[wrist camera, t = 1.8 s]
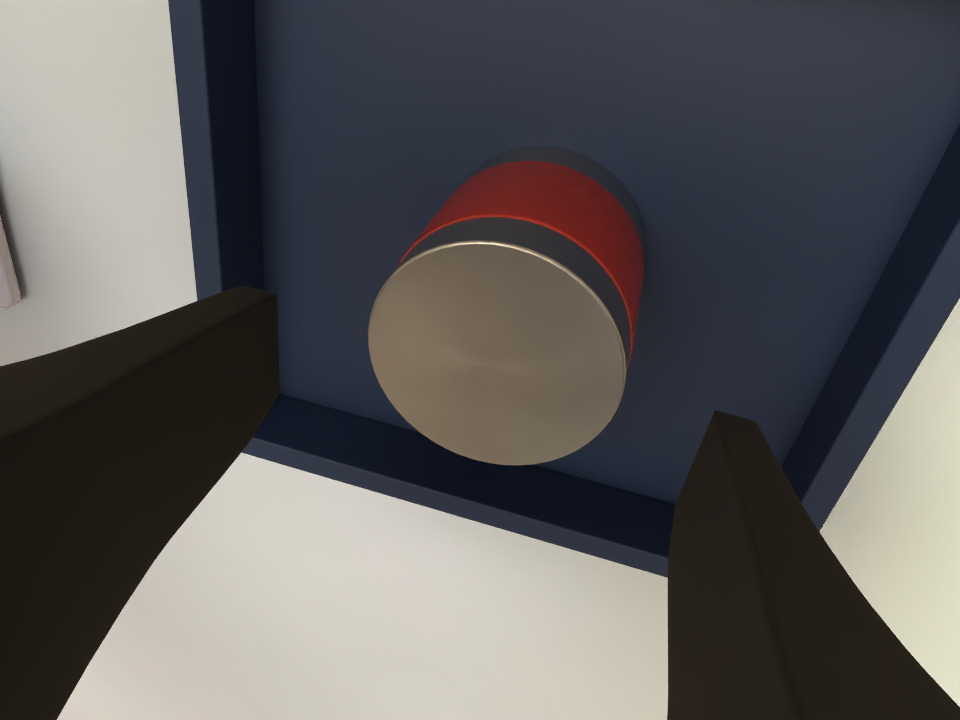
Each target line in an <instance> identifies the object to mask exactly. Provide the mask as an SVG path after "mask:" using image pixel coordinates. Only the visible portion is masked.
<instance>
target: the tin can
mask: <svg viewBox="0 0 960 720" xmlns="http://www.w3.org/2000/svg"><path fill="white" fill-rule="evenodd" d="M644 260H645V234H644V229H643V225H642V221H641V218H640V215H639V213H638V210H637V208H636V206H635V204H634V202H633V200H632V198H631V197H630V195H629V194H628V193H627V191H626V190H625V188H624V187H623V186H622V185H621V184H620V183H619V182H618V181H617V179H616V178H615V177H614V176H613V175H611V174H610V173H609V172H608V171H606V170H605V169H604V168H603V167H601V166H600V165H598V164H596V163H595V162H593V161H591V160H590V159H587V158H585V157H583V156H581V155H578V154H576V153H572V152H569V151H566V150H562V149H555V148H549V147H532V148H522V149H518V150H514V151H510V152H506V153H504V154H501V155H499V156H496V157H494V158H493V159H491V160H489V161H487V162H486V163H484V164H483V165H481V166H480V167H479V168H477V169H476V170H475V171H474V172H473V173H472V174H471V175H470V176H469V177H468V178H467V179H466V180H465V181H464V182H463V184H462V185H461V186H459V188H458V189H457V190H456V191H455V192H454V193H453V194H452V195H451V196H450V197H449V198H448V200H447V201H446V202H445V203H444V205H443V206H442V207H441V208H440V210H439V211H438V212H437V214H436V215H435V216H434V217H433V219H432V220H431V221H430V222H429V224H428V225H427V226H426V227H425V229H424V230H423V231H422V232H421V234H420V235H419V236H418V237H417V239H416V240H415V241H414V242H413V244H412V245H411V246H410V248H409V249H408V250H407V251H406V253H405V254H404V256H403V257H402V259H401V260H400V261H399V263H398V265H397V267H396V269H395V270H394V271H393V273H392V274H391V275H390V277H389V278H388V279H387V281H386V282H385V284H384V285H383V286H382V288H381V289H380V291H379V293H378V295H377V297H376V299H375V302H374V304H373V308H372V311H371V314H370V320H369V327H368V345H369V352H370V358H371V362H372V365H373V369H374V372H375V374H376V377H377V379H378V381H379V384H380V386H381V388H382V389H383V391H384V393H385V394H386V396H387V398H388V399H389V401H390V402H391V403H392V404H393V406H394V407H395V408H396V410H397V411H398V412H399V413H400V414H401V415H402V416H403V417H404V418H405V419H406V421H407V422H409V423H410V424H411V425H412V426H413V427H414V428H415V429H417V430H418V431H419V432H420V433H422V434H423V435H425V436H426V437H427V438H429V439H430V440H432V441H433V442H435V443H437V444H439V445H440V446H442V447H444V448H446V449H448V450H450V451H453V452H455V453H457V454H459V455H462V456H465V457H468V458H471V459H474V460H479V461H483V462H487V463H493V464H501V465H530V464H538V463H543V462H548V461H552V460H555V459H558V458H561V457H564V456H566V455H568V454H570V453H572V452H575V451H577V450H578V449H580V448H581V447H583V446H584V445H586V444H587V443H589V442H590V441H591V440H592V439H593V438H595V437H596V436H597V435H598V434H599V433H600V432H601V431H602V430H603V429H604V428H605V426H606V425H607V424H608V423H609V422H610V420H611V418H612V417H613V415H614V414H615V412H616V410H617V408H618V406H619V403H620V401H621V398H622V396H623V391H624V387H625V383H626V376H627V370H628V367H629V365H630V360H631V356H632V352H633V346H634V339H635V332H636V326H637V319H638V312H639V306H640V299H641V292H642V286H643V277H644Z"/></svg>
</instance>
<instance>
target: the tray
mask: <svg viewBox="0 0 960 720" xmlns="http://www.w3.org/2000/svg"><path fill="white" fill-rule="evenodd" d="M168 1H169V12H170V22H171V32H172V43H173V53H174V63H175V74H176V84H177V94H178V105H179V115H180V125H181V135H182V146H183V156H184V166H185V177H186V187H187V197H188V208H189V218H190V228H191V239H192V249H193V259H194V270H195V280H196V290H197V301H199V300H202V299H204V298H207V297H210V296H212V295H215V294H218V293H221V292H224V291H227V290H230V289H233V288H236V287H240V286H247V287H251V288H255V289H259V290H262V291H266V292H270V293H274V294H277V308H278V350H279V394H278V396H277V397H276V399H275V401H274V403H273V404H272V406H271V408H270V410H269V411H268V413H267V415H266V417H265V418H264V420H263V421H262V423H261V425H260V426H259V428H258V429H257V431H256V433H255V434H254V436H253V438H252V439H251V440H250V442H249V443H248V444H247V446H246V447H245V448H244V449H243V451H242V453H245V454H249V455H252V456H255V457H259V458H262V459H266V460H269V461H273V462H276V463H279V464H283V465H286V466H290V467H293V468H296V469H300V470H303V471H307V472H310V473H313V474H317V475H320V476H324V477H327V478H330V479H334V480H337V481H341V482H344V483H347V484H351V485H354V486H358V487H361V488H364V489H368V490H371V491H375V492H378V493H381V494H385V495H388V496H392V497H395V498H398V499H402V500H405V501H409V502H412V503H415V504H419V505H422V506H426V507H429V508H433V509H436V510H439V511H443V512H446V513H450V514H453V515H456V516H460V517H463V518H467V519H470V520H473V521H477V522H480V523H484V524H487V525H490V526H494V527H497V528H501V529H504V530H507V531H511V532H514V533H518V534H521V535H524V536H528V537H531V538H535V539H538V540H541V541H545V542H548V543H552V544H555V545H558V546H562V547H565V548H569V549H572V550H576V551H579V552H582V553H586V554H589V555H593V556H596V557H599V558H603V559H606V560H610V561H613V562H616V563H620V564H623V565H627V566H630V567H633V568H637V569H640V570H644V571H647V572H650V573H654V574H657V575H661V576H664V577H667V578H668V557H669V549H670V541H671V533H672V525H673V518H674V511H675V504H676V501H677V499H678V497H679V494H680V492H681V490H682V487H683V485H684V482H685V480H686V478H687V475H688V473H689V471H690V468H691V466H692V463H693V461H694V459H695V456H696V454H697V452H698V449H699V447H700V444H701V442H702V440H703V437H704V435H705V432H706V430H707V428H708V425H709V423H710V421H711V418H712V416H713V413H714V411H715V410H716V411H720V412H724V413H728V414H732V415H735V416H739V417H743V418H747V419H750V420H754V421H756V423H757V425H758V426H759V428H760V430H761V432H762V433H763V435H764V437H765V439H766V441H767V442H768V444H769V446H770V448H771V450H772V452H773V453H774V455H775V457H776V459H777V461H778V463H779V464H780V466H781V468H782V470H783V472H784V473H785V475H786V477H787V479H788V480H789V482H790V484H791V486H792V488H793V489H794V491H795V493H796V495H797V496H798V498H799V500H800V501H801V503H802V505H803V506H804V508H805V510H806V511H807V513H808V515H809V516H810V518H811V520H812V521H813V523H814V524H815V526H816V528H817V529H818V531H820V529H821V528H822V526H823V524H824V523H825V521H826V519H827V518H828V516H829V514H830V513H831V511H832V509H833V508H834V506H835V504H836V503H837V501H838V499H839V498H840V496H841V494H842V493H843V491H844V489H845V488H846V486H847V484H848V483H849V481H850V479H851V478H852V476H853V474H854V473H855V471H856V469H857V468H858V466H859V464H860V463H861V461H862V460H863V458H864V456H865V455H866V453H867V451H868V450H869V448H870V446H871V445H872V443H873V441H874V440H875V438H876V436H877V435H878V433H879V431H880V430H881V428H882V426H883V425H884V423H885V421H886V420H887V418H888V416H889V415H890V413H891V411H892V410H893V408H894V406H895V405H896V403H897V401H898V400H899V398H900V396H901V395H902V393H903V391H904V390H905V388H906V386H907V385H908V383H909V381H910V380H911V378H912V376H913V375H914V373H915V371H916V370H917V368H918V366H919V365H920V363H921V361H922V360H923V358H924V356H925V355H926V353H927V351H928V350H929V348H930V346H931V345H932V343H933V341H934V340H935V338H936V336H937V335H938V333H939V331H940V330H941V328H942V326H943V325H944V323H945V321H946V320H947V318H948V316H949V315H950V313H951V311H952V310H953V308H954V306H955V305H956V303H957V301H958V300H959V298H960V0H168ZM532 147H549V148H555V149H562V150H566V151H569V152H572V153H576V154H578V155H581V156H583V157H585V158H587V159H590V160H591V161H593V162H595V163H596V164H598V165H600V166H601V167H603V168H604V169H605V170H606V171H608V172H609V173H610V174H611V175H613V176H614V177H615V178H616V179H617V181H618V182H619V183H620V184H621V185H622V186H623V187H624V188H625V190H626V191H627V193H628V194H629V195H630V197H631V198H632V200H633V202H634V204H635V206H636V208H637V210H638V213H639V215H640V218H641V221H642V225H643V229H644V234H645V260H644V277H643V286H642V292H641V299H640V306H639V312H638V319H637V326H636V332H635V339H634V346H633V352H632V356H631V360H630V365H629V367H628V370H627V376H626V383H625V387H624V391H623V396H622V398H621V401H620V403H619V406H618V408H617V410H616V412H615V414H614V415H613V417H612V418H611V420H610V422H609V423H608V424H607V425H606V426H605V428H604V429H603V430H602V431H601V432H600V433H599V434H598V435H597V436H596V437H595V438H593V439H592V440H591V441H590V442H589V443H587V444H586V445H584V446H583V447H581V448H580V449H578V450H577V451H575V452H572V453H570V454H568V455H566V456H564V457H561V458H558V459H555V460H552V461H548V462H543V463H538V464H530V465H501V464H493V463H487V462H483V461H479V460H474V459H471V458H468V457H465V456H462V455H459V454H457V453H455V452H453V451H450V450H448V449H446V448H444V447H442V446H440V445H439V444H437V443H435V442H433V441H432V440H430V439H429V438H427V437H426V436H425V435H423V434H422V433H420V432H419V431H418V430H417V429H415V428H414V427H413V426H412V425H411V424H410V423H409V422H407V421H406V419H405V418H404V417H403V416H402V415H401V414H400V413H399V412H398V411H397V410H396V408H395V407H394V406H393V404H392V403H391V402H390V401H389V399H388V398H387V396H386V394H385V393H384V391H383V389H382V388H381V386H380V384H379V381H378V379H377V377H376V374H375V372H374V369H373V365H372V362H371V358H370V352H369V345H368V327H369V320H370V314H371V311H372V308H373V304H374V302H375V299H376V297H377V295H378V293H379V291H380V289H381V288H382V286H383V285H384V284H385V282H386V281H387V279H388V278H389V277H390V275H391V274H392V273H393V271H394V270H395V269H396V267H397V265H398V263H399V261H400V260H401V259H402V257H403V256H404V254H405V253H406V251H407V250H408V249H409V248H410V246H411V245H412V244H413V242H414V241H415V240H416V239H417V237H418V236H419V235H420V234H421V232H422V231H423V230H424V229H425V227H426V226H427V225H428V224H429V222H430V221H431V220H432V219H433V217H434V216H435V215H436V214H437V212H438V211H439V210H440V208H441V207H442V206H443V205H444V203H445V202H446V201H447V200H448V198H449V197H450V196H451V195H452V194H453V193H454V192H455V191H456V190H457V189H458V188H459V186H461V185H462V184H463V182H464V181H465V180H466V179H467V178H468V177H469V176H470V175H471V174H472V173H473V172H474V171H475V170H476V169H477V168H479V167H480V166H481V165H483V164H484V163H486V162H487V161H489V160H491V159H493V158H494V157H496V156H499V155H501V154H504V153H506V152H510V151H514V150H518V149H522V148H532Z"/></svg>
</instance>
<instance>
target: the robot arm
mask: <svg viewBox="0 0 960 720" xmlns="http://www.w3.org/2000/svg"><path fill="white" fill-rule="evenodd" d="M19 300H20V290H19V286H18V282H17V278H16V275H15V271H14V267H13V263H12V259H11V255H10V251H9V247H8V244H7V240H6V236H5V232H4V228H3V224H2V220H1V216H0V308H6V309H7V308H10V307H12V306H13V305H15V304H16V303H18V302H19ZM278 394H279V350H278V308H277V294H274V293H270V292H266V291H262V290H259V289H255V288H251V287H247V286H240V287H236V288H233V289H230V290H227V291H224V292H221V293H218V294H215V295H212V296H210V297H207V298H204V299H202V300H199V301H196V302H194V303H191V304H188V305H186V306H183V307H181V308H178V309H175V310H173V311H170V312H168V313H165V314H162V315H160V316H157V317H154V318H152V319H149V320H146V321H144V322H141V323H138V324H136V325H133V326H130V327H128V328H125V329H122V330H119V331H116V332H113V333H110V334H107V335H104V336H101V337H98V338H95V339H92V340H89V341H86V342H83V343H80V344H77V345H74V346H71V347H68V348H65V349H62V350H59V351H56V352H52V353H49V354H46V355H42V356H38V357H35V358H31V359H28V360H24V361H20V362H16V363H12V364H8V365H4V366H0V720H57V718H58V716H59V714H60V713H61V711H62V709H63V708H64V706H65V704H66V702H67V701H68V699H69V697H70V695H71V694H72V692H73V690H74V688H75V687H76V685H77V683H78V681H79V680H80V678H81V676H82V674H83V673H84V671H85V669H86V668H87V666H88V664H89V662H90V661H91V659H92V658H93V656H94V654H95V653H96V651H97V650H98V648H99V646H100V645H101V643H102V641H103V640H104V638H105V637H106V635H107V633H108V632H109V630H110V628H111V627H112V625H113V624H114V622H115V620H116V619H117V617H118V615H119V614H120V612H121V611H122V609H123V607H124V606H125V604H126V603H127V601H128V600H129V598H130V597H131V595H132V594H133V592H134V591H135V589H136V588H137V586H138V585H139V583H140V582H141V580H142V579H143V577H144V575H145V574H146V572H147V571H148V569H149V568H150V566H151V565H152V563H153V562H154V560H155V559H156V558H157V556H158V555H159V554H160V552H161V551H162V550H163V548H164V547H165V546H166V544H167V543H168V542H169V540H170V539H171V538H172V536H173V535H174V534H175V533H176V531H177V530H178V529H179V528H180V527H181V525H182V524H183V523H184V522H185V520H186V519H187V518H188V517H189V516H190V514H191V513H192V512H193V511H194V510H195V508H196V507H197V506H198V505H199V503H200V502H201V501H202V500H203V499H204V497H205V496H206V495H207V494H208V492H209V491H210V490H211V489H212V488H213V486H214V485H215V484H216V483H217V482H218V480H219V479H220V478H221V477H222V475H223V474H224V473H225V472H226V471H227V469H228V468H229V467H230V466H231V464H232V463H233V462H234V461H235V459H236V458H237V457H238V456H239V454H240V453H241V452H242V451H243V449H244V448H245V447H246V446H247V444H248V443H249V442H250V440H251V439H252V438H253V436H254V434H255V433H256V431H257V429H258V428H259V426H260V425H261V423H262V421H263V420H264V418H265V417H266V415H267V413H268V411H269V410H270V408H271V406H272V404H273V403H274V401H275V399H276V397H277V396H278ZM667 720H960V707H959V706H958V705H957V704H956V703H955V702H954V701H953V700H952V699H951V698H950V696H949V695H948V694H947V693H946V692H945V691H944V690H943V689H942V688H941V687H940V686H939V685H938V684H937V683H936V682H935V680H934V679H933V678H932V677H931V676H930V675H929V674H928V673H927V672H926V671H925V670H924V668H923V667H922V666H921V665H920V664H919V663H918V662H917V661H916V659H915V658H914V657H913V656H912V655H911V654H910V653H909V651H908V650H907V649H906V648H905V647H904V646H903V644H902V643H901V642H900V641H899V639H898V638H897V637H896V636H895V635H894V633H893V632H892V631H891V630H890V628H889V627H888V626H887V625H886V623H885V622H884V621H883V620H882V618H881V617H880V616H879V615H878V614H877V612H876V611H875V610H874V609H873V607H872V606H871V605H870V604H869V602H868V601H867V600H866V598H865V597H864V596H863V594H862V593H861V592H860V590H859V589H858V588H857V586H856V585H855V584H854V582H853V581H852V579H851V578H850V576H849V575H848V574H847V572H846V571H845V569H844V568H843V566H842V565H841V564H840V562H839V561H838V559H837V558H836V556H835V555H834V553H833V552H832V551H831V549H830V548H829V546H828V545H827V543H826V542H825V540H824V538H823V537H822V535H821V534H820V532H819V531H818V529H817V528H816V526H815V524H814V523H813V521H812V520H811V518H810V516H809V515H808V513H807V511H806V510H805V508H804V506H803V505H802V503H801V501H800V500H799V498H798V496H797V495H796V493H795V491H794V489H793V488H792V486H791V484H790V482H789V480H788V479H787V477H786V475H785V473H784V472H783V470H782V468H781V466H780V464H779V463H778V461H777V459H776V457H775V455H774V453H773V452H772V450H771V448H770V446H769V444H768V442H767V441H766V439H765V437H764V435H763V433H762V432H761V430H760V428H759V426H758V425H757V423H756V421H754V420H750V419H747V418H743V417H739V416H735V415H732V414H728V413H724V412H720V411H716V410H715V411H714V413H713V416H712V418H711V421H710V423H709V425H708V428H707V430H706V432H705V435H704V437H703V440H702V442H701V444H700V447H699V449H698V452H697V454H696V456H695V459H694V461H693V463H692V466H691V468H690V471H689V473H688V475H687V478H686V480H685V482H684V485H683V487H682V490H681V492H680V494H679V497H678V499H677V501H676V504H675V511H674V518H673V525H672V533H671V541H670V549H669V557H668V716H667Z"/></svg>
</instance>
